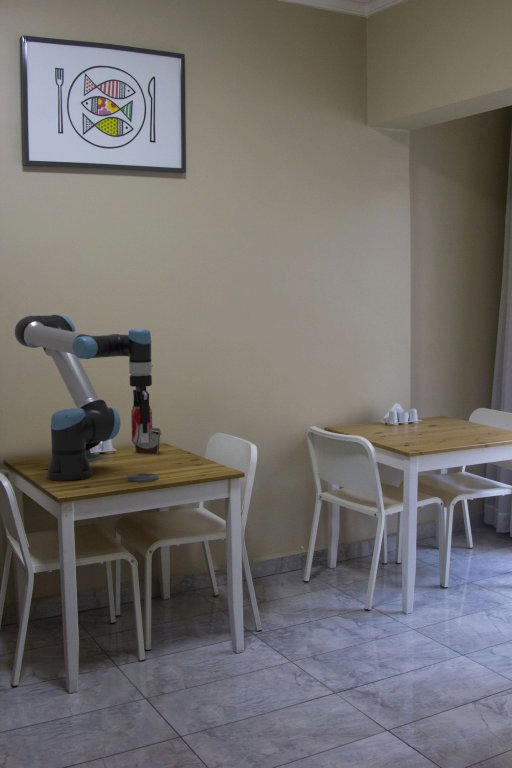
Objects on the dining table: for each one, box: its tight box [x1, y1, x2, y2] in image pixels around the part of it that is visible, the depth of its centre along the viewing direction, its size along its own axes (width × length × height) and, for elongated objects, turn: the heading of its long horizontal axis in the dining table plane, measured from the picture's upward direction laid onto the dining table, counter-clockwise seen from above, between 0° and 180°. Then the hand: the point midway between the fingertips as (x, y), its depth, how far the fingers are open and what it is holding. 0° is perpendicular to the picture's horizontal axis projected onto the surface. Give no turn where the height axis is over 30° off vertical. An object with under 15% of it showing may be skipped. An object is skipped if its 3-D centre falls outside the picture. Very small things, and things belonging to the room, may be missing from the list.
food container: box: [134, 427, 162, 456], centre depth 343 cm, size 12×6×10 cm, turn 72°
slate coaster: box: [126, 472, 159, 483], centre depth 296 cm, size 11×11×1 cm
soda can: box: [130, 405, 153, 446], centre depth 294 cm, size 7×7×13 cm
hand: (142, 440), depth 294 cm, fingers closed on soda can, 7 cm apart
